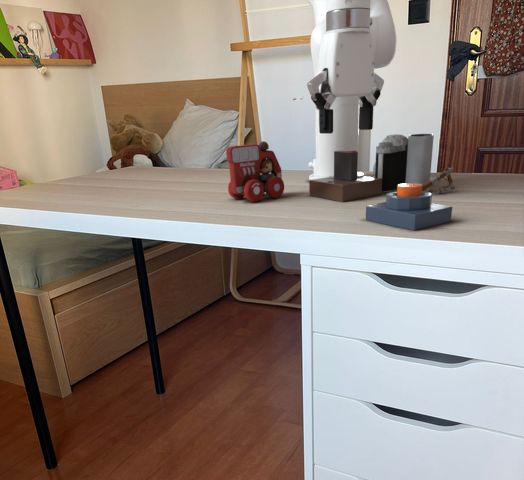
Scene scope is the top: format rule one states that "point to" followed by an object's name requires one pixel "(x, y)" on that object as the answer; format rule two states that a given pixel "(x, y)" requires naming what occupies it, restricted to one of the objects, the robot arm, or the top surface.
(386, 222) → the button box
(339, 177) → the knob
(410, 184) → the button
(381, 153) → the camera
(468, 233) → the top surface
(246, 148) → the toy fire truck
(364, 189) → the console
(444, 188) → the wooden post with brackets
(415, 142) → the grey hollow tube
